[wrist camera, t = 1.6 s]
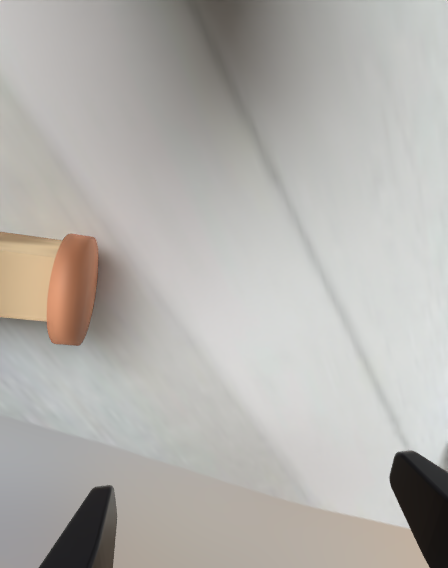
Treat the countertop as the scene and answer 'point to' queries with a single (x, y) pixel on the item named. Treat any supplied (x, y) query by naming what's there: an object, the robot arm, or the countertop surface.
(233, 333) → the countertop surface
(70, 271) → the lynch pin
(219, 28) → the countertop surface
